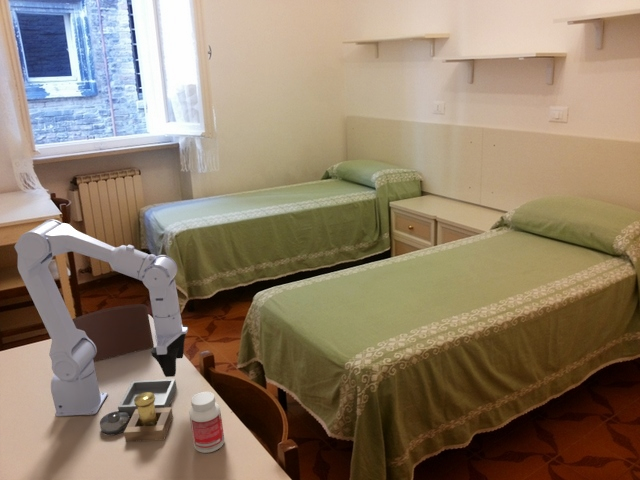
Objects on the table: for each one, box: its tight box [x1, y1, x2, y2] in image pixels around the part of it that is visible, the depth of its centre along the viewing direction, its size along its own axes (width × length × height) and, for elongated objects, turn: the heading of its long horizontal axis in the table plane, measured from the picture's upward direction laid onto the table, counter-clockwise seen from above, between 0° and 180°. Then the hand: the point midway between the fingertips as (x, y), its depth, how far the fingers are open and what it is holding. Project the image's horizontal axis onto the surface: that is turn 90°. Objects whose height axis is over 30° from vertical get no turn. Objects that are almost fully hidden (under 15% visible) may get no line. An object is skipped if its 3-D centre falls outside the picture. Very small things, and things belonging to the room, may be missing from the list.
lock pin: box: [134, 392, 157, 426], centre depth 121 cm, size 4×4×8 cm
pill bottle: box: [188, 391, 225, 454], centre depth 115 cm, size 6×6×11 cm
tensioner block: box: [123, 406, 174, 443], centre depth 122 cm, size 8×8×2 cm
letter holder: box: [72, 303, 155, 362], centre depth 155 cm, size 10×20×14 cm, turn 113°
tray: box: [117, 378, 177, 418], centre depth 132 cm, size 10×10×3 cm
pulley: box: [99, 410, 130, 436], centre depth 124 cm, size 6×6×3 cm
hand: (174, 366), depth 128 cm, fingers open, 7 cm apart
